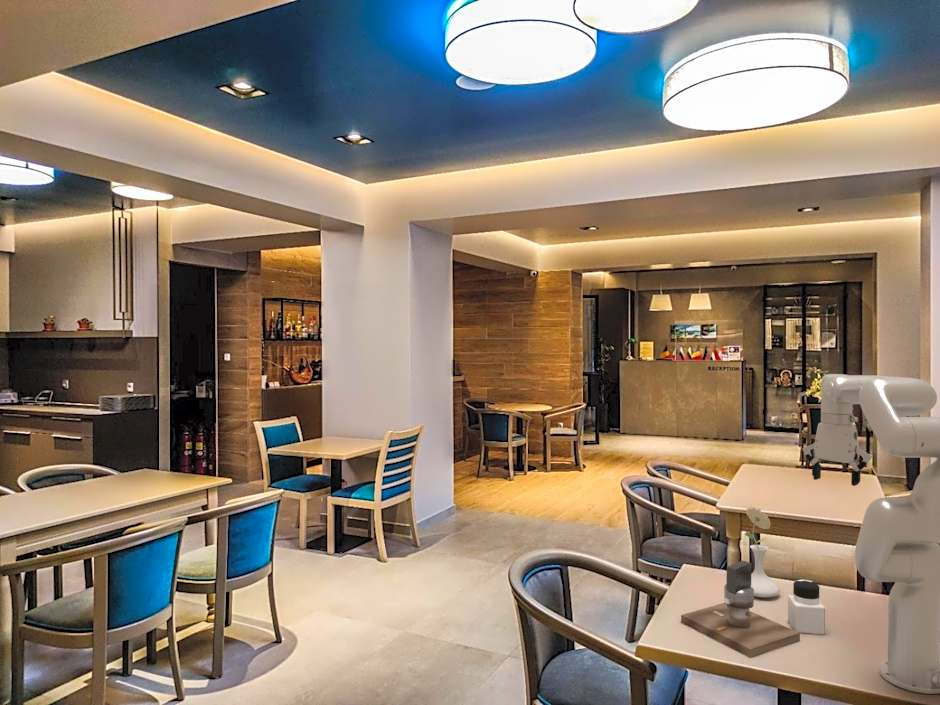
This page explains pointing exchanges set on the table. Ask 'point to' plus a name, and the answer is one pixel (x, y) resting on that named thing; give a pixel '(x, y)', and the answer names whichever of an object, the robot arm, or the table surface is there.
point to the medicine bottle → (806, 608)
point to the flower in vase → (760, 557)
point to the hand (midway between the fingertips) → (835, 481)
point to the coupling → (739, 586)
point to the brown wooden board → (740, 629)
